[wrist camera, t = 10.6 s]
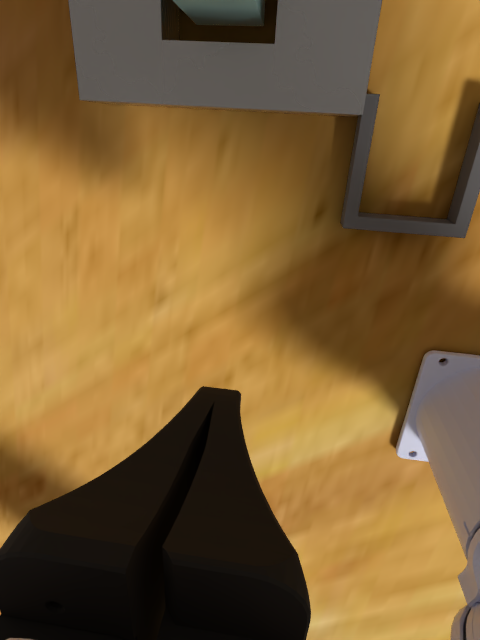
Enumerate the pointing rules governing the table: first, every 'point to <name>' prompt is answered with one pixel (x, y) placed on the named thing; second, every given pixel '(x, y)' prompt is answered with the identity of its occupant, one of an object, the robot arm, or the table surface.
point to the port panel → (226, 58)
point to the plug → (224, 12)
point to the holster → (473, 178)
